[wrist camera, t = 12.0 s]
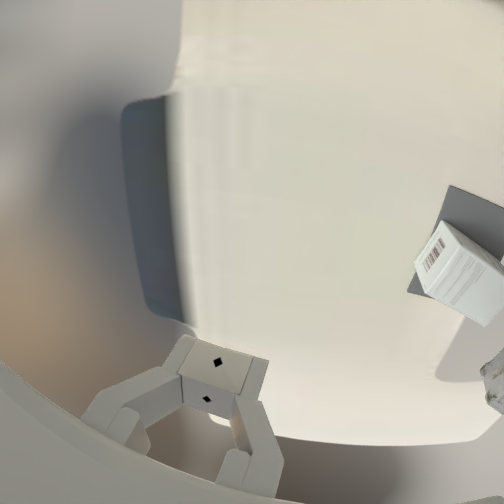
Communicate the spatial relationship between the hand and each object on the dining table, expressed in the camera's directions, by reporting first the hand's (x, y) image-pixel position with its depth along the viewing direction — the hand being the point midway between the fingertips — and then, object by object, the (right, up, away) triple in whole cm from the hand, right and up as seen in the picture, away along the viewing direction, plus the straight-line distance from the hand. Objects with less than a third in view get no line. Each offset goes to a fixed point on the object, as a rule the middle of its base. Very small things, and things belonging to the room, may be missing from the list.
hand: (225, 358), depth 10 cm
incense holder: (+48, -16, +29) cm, 59 cm away
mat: (+30, +3, +24) cm, 38 cm away
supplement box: (+22, +3, +21) cm, 31 cm away
